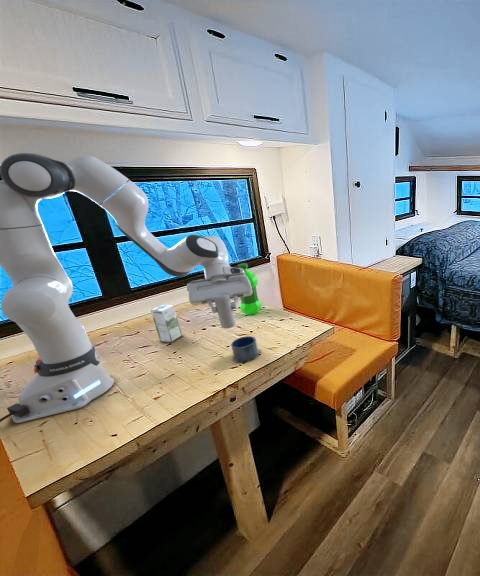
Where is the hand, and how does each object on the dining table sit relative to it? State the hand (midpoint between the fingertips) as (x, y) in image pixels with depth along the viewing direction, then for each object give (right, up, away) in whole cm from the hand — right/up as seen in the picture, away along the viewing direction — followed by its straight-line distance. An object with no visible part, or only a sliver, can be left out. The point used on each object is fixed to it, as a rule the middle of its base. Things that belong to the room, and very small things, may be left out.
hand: (225, 310), depth 107 cm
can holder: (+4, -18, +8) cm, 20 cm away
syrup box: (-34, -14, +22) cm, 43 cm away
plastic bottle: (-10, -5, +45) cm, 46 cm away
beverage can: (0, -6, +3) cm, 7 cm away
